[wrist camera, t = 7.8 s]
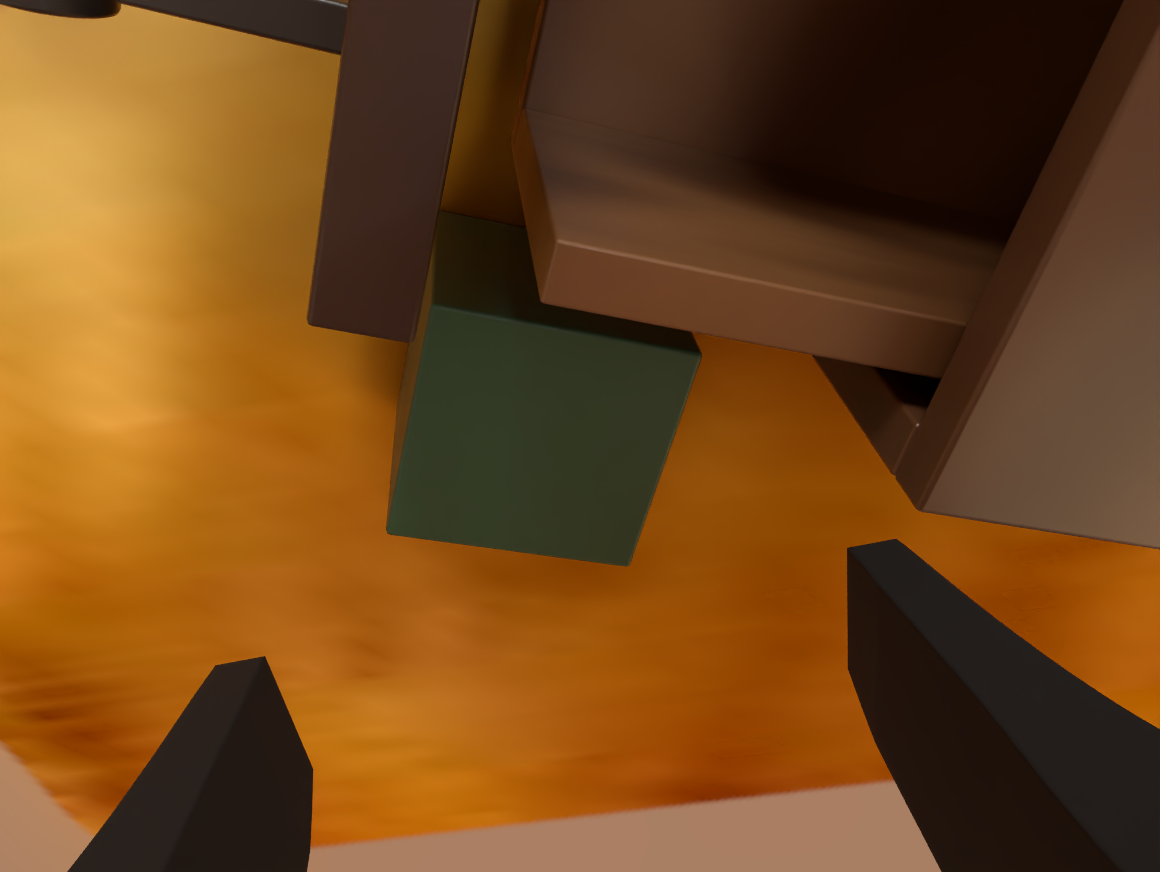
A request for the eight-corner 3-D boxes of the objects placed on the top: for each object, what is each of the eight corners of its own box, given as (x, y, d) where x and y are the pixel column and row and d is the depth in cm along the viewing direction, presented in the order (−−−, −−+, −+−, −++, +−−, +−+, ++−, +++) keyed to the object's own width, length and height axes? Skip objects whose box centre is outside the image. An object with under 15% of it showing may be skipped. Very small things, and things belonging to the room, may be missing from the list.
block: (434, 207, 19) (430, 302, 15) (656, 254, 20) (704, 354, 16) (396, 409, 21) (385, 536, 17) (599, 441, 22) (629, 568, 18)
